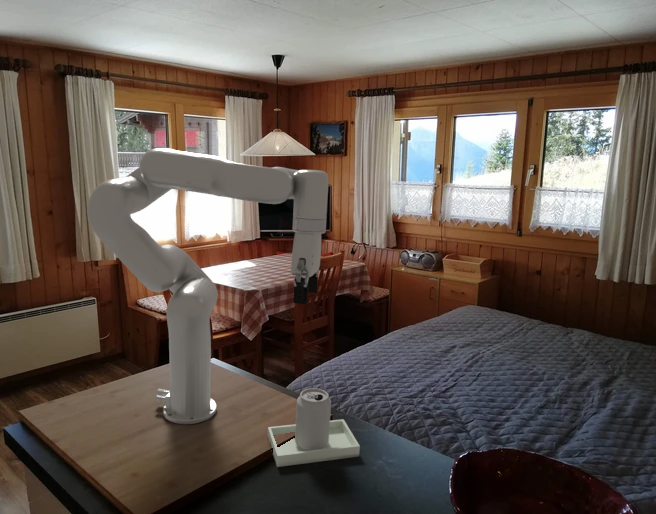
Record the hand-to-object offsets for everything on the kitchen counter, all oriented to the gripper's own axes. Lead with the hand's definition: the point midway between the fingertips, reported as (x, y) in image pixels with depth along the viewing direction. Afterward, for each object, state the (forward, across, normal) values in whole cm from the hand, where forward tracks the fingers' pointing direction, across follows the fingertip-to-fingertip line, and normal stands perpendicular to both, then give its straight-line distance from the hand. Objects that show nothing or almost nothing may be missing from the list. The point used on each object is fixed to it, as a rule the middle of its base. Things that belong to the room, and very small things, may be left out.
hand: (305, 297), depth 119 cm
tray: (+30, +12, +6) cm, 33 cm away
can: (+30, +12, +6) cm, 33 cm away
